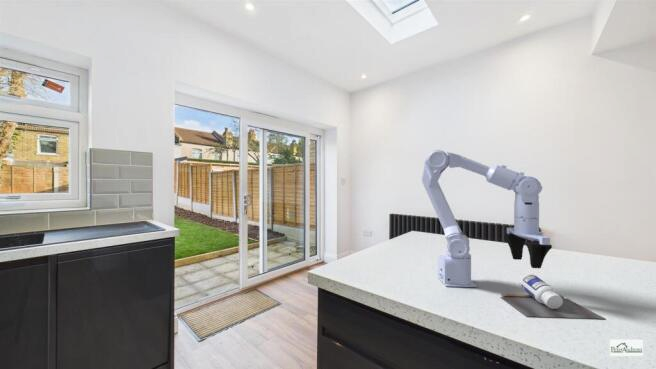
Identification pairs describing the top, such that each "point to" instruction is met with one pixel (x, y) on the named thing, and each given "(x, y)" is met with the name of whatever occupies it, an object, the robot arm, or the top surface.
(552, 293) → the pill bottle
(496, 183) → the robot arm
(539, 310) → the dark grey mat
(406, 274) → the top surface
